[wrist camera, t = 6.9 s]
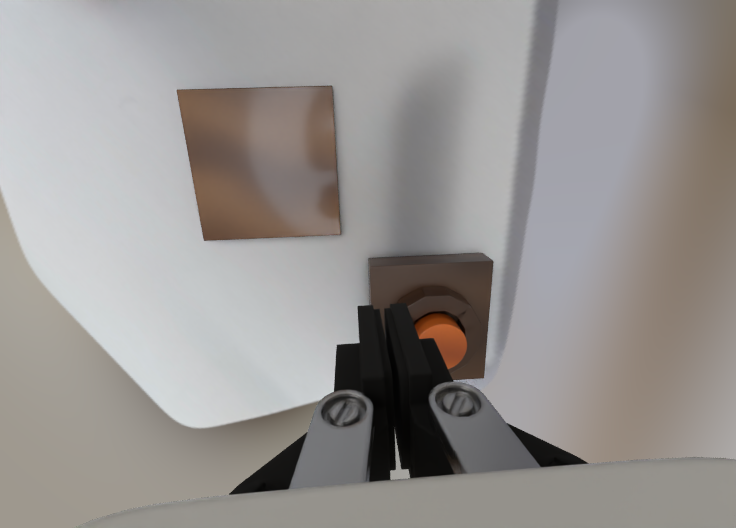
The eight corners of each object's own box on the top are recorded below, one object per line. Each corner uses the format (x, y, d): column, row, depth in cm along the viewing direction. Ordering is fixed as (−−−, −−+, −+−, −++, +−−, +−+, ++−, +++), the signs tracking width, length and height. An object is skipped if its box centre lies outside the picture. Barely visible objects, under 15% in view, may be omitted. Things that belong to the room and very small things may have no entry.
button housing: (368, 257, 27) (371, 275, 23) (482, 252, 27) (504, 268, 23) (371, 369, 30) (375, 400, 26) (474, 363, 30) (493, 393, 26)
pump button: (410, 314, 24) (414, 325, 23) (460, 311, 24) (469, 322, 23) (410, 358, 25) (414, 372, 24) (458, 355, 26) (466, 369, 24)
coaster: (179, 90, 23) (176, 89, 22) (332, 86, 23) (331, 85, 23) (205, 239, 26) (203, 240, 25) (340, 233, 26) (340, 234, 26)
